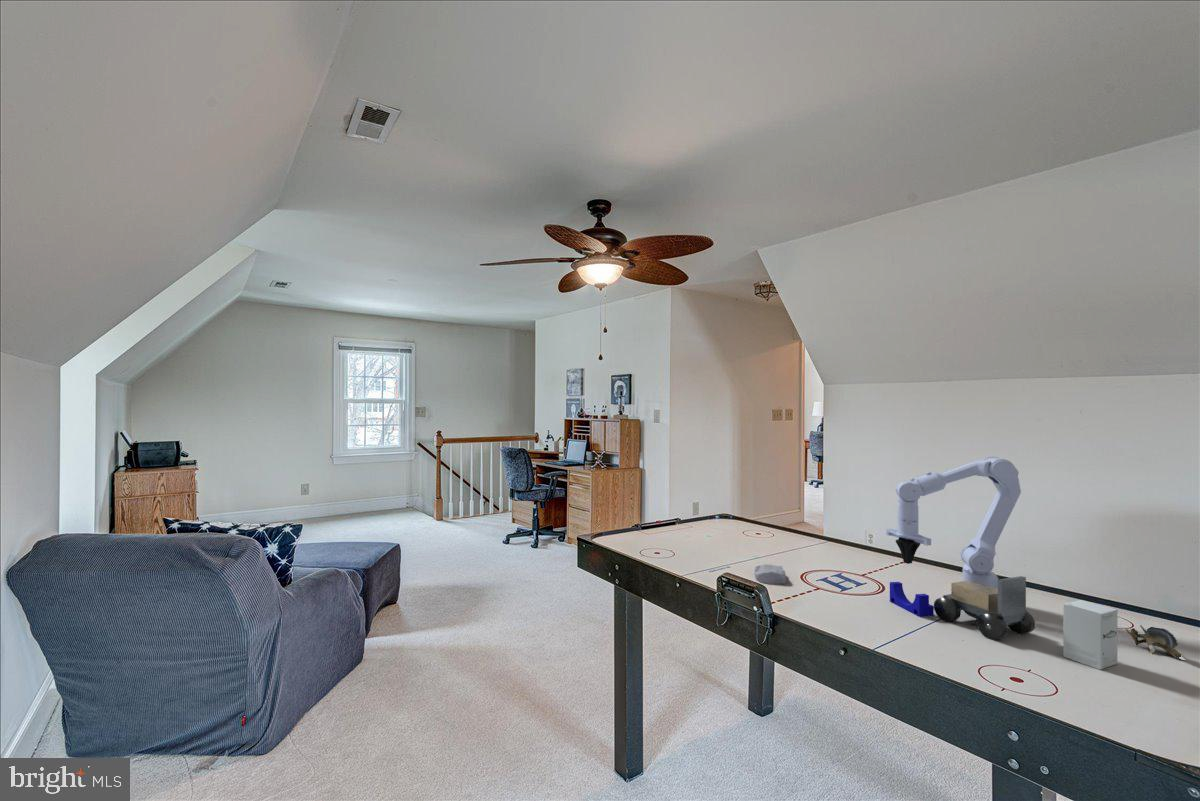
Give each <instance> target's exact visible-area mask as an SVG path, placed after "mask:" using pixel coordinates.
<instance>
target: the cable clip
mask: <svg viewBox="0 0 1200 801" xmlns="http://www.w3.org/2000/svg"><path fill="white" fill-rule="evenodd" d="M889 602H890V603H892V604H894V605H896V606H897V607H900V608H901V609H903V610H904V611H905V610H906V612H908V613H910V614H911V613H912V614H913V615H915V616H917V617H919V618H925V617H926V618H927V617H934V615H935V614H934V613H935V610H934V605H933V604H930V595H929V594H926V593H915V597H914V600H913V602H911V601H910V600H909V599H908V598H907V596H906V594H905V592H904V588H903V583H902V582H900V581H889Z"/></svg>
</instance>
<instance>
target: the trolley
mask: <svg viewBox="0 0 1200 801" xmlns="http://www.w3.org/2000/svg"><path fill="white" fill-rule="evenodd" d="M1026 579H1027V578H1026V576H1021V575H1020V576H1012V577H1007V578H1000V579H999V578H998V589H995V588H992V587H989V586H985V585H982V584H979V583H976V582H972V581H963V580H961V581H957V582H950V583H951V588H950V589H951V591H950V592H951V593H950V594H944V595H942V596H943V597H939V598H936V599H935V600H934V602H933V606H934V613H935V615H936V616H937V617H938V618H939V619H940V620H942V621H944V622H953V621H957V620H959V618H961V612H962V611H961V610H963V612H964V613H965V614H967V615H968V616H969V617H974V618H975V617H977V618H976V626H977V629H978V631H979V633H981V635H983V636H984V637H985V638H986V639H989V640H998V639H1002V638H1004V637H1006V636H1007V634H1008V630H1011V631H1012V632H1013V633H1015V634H1017V635H1024V634H1027V633H1031V632H1033V631H1034V630H1035V627H1036V622H1035V621H1036V620H1035V619H1034V617H1033V615H1032V614H1031V613H1030V612H1029V611H1028V610H1027V580H1026Z"/></svg>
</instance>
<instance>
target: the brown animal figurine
mask: <svg viewBox="0 0 1200 801" xmlns="http://www.w3.org/2000/svg"><path fill="white" fill-rule="evenodd" d="M1139 627H1140V628H1141V629H1142V631H1143V633H1144V634H1143V633H1139V631H1138V630H1137V629H1136V628H1134V627H1133V628H1131V629H1130V630H1129V629H1128V628H1125V631H1126V633H1128V634H1129V635H1130V636H1131V637H1132V640H1134V645H1135V644H1136V645H1138V646H1139V645H1141V644H1146V645H1147V646H1148V649H1149V650H1150V653H1153V654H1154V653H1155V652H1156V647H1159V648H1161V649H1162V650H1165V651H1166V652H1167V653H1169V654H1170V655H1172V656H1173V657H1174V658H1175V659H1176V658H1177V659H1176V660H1179V659H1178V658H1179V657H1181V655H1182V653H1180V652H1179V651H1178V649H1176V647H1177V646H1178V645H1179V643H1178V642H1177V638H1176V637H1175V636H1174V634H1172V633H1171V632H1170V630H1168V629H1166V628H1160V627H1155V626H1150V627H1148V628H1146V629H1145V628H1144V627H1143V625H1142V624H1140V625H1139ZM1139 638H1142V639H1140V640H1139Z"/></svg>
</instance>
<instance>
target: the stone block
mask: <svg viewBox="0 0 1200 801" xmlns="http://www.w3.org/2000/svg"><path fill="white" fill-rule="evenodd" d="M754 568H755V569H754V573H753V574H754V577H755V580H756V581H758V582H759V583H762V584H767V585H768V584H769V585H770V584H771V585H772V584H775V585H786V584H787V581H786V578H787V573H786V571H785V570H784V568H783V566H782V565H776V564H775V565H773V564H762V565H761V564H760V565H756V566H755V567H754Z"/></svg>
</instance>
